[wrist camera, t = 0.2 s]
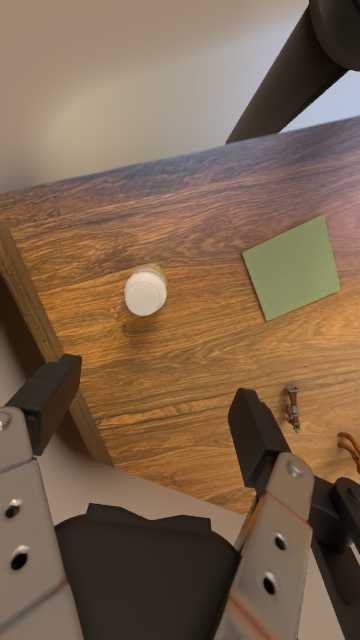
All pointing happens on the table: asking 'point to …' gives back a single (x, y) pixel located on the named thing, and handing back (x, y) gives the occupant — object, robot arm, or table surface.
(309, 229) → the mat
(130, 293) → the supplement bottle
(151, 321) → the table surface
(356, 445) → the orange animal figure
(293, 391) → the wooden post with brackets
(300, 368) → the table surface
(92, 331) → the table surface
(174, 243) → the table surface
